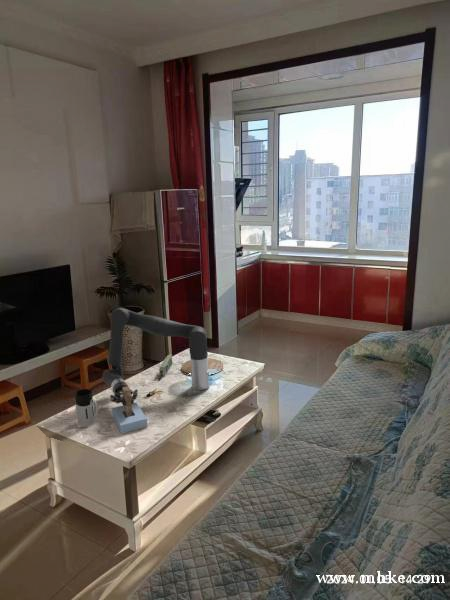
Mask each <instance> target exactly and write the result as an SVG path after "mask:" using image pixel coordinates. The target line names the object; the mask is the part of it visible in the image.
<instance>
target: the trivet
mask: <svg viewBox="0 0 450 600" xmlns="http://www.w3.org/2000/svg"><path fill="white" fill-rule="evenodd" d="M208 369H217V371H219V370H221V371H220V372H222V371H223V369H224V363H223V362H222V361H221V360H219V359H216V358H212V357H208ZM181 372H182V373H183V374H185V375H187V374H189V373H191V359H189V360H187V361H185V362H184V363H182V365H181Z"/></svg>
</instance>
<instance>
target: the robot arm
mask: <svg viewBox="0 0 450 600" xmlns="http://www.w3.org/2000/svg"><path fill="white" fill-rule="evenodd" d="M109 315H110V316H109V319H110V322H109V323H110V338H109V339H110V341H109V349H108V356H107V357H108V358H107V364H108V365H109V366H113V367H116V369H106V370H104V371H103V373H102V375H101V376H102V381H103V383H105V385H107V386H108V387H110V388H111V392H112V394H111V395H109V399H110V401H111V402H113V403H115V404H122V406H123V405H125V406H126V401H125V399H124V398H123V389H122V387H126V386H128V387H129V385H128V384H127V381H125V379H124V371H123V365H122V364H123V363H122V362H123V353H124V351H123V350H124V340H123V339H124V331H125V327H126V326H130V327H135V328H138V329H140V330H142V331H144V332H147V333H149V334H152V335H157V336H161V337H179V338H184V339H187V340H188V346H189V347H188V348H189V357H190V359H189V360H191V388H192V389H193V390H195V391H204V390H208V389H210V376H209V372H208V358H209V356H208V339H207V336H208V334H207V333H208V332H207V330H206V329H205V328H204V327H202V326H200V325H199V326H198V325H194V324H193V325H192V324H185V323H181V322H177V321H174V320H170V319H167V318H163V317H161V316H160V317H159V316H155V315H148V314H142V313H138V312H135V311H132V310H130V309H127V308H124V307H118V308H115V309H113V310H112V311H111V312H110V314H109ZM129 389H130V394H131V404H133V403H135V400H137V397H138V394H139V393H138V389H134V390H132V389H131V388H130V387H129Z"/></svg>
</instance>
